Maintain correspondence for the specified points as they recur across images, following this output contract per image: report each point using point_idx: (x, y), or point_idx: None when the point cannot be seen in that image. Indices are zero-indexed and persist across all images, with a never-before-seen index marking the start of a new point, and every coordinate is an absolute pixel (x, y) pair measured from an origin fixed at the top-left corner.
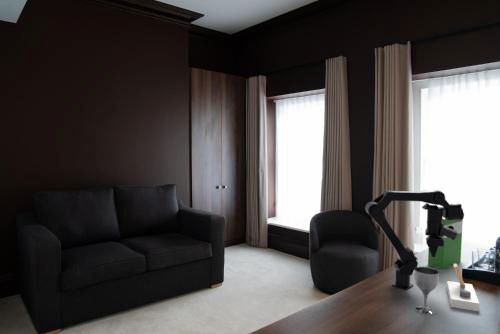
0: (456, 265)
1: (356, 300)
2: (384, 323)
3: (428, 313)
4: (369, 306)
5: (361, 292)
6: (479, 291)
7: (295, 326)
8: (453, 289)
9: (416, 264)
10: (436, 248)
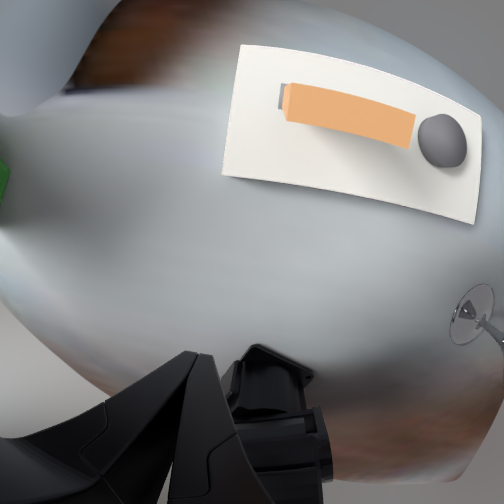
0: (371, 108)
1: (398, 456)
2: (496, 390)
3: (491, 308)
4: (432, 431)
5: (350, 460)
6: (231, 32)
7: (463, 467)
8: (368, 171)
9: (315, 439)
10: (253, 478)
